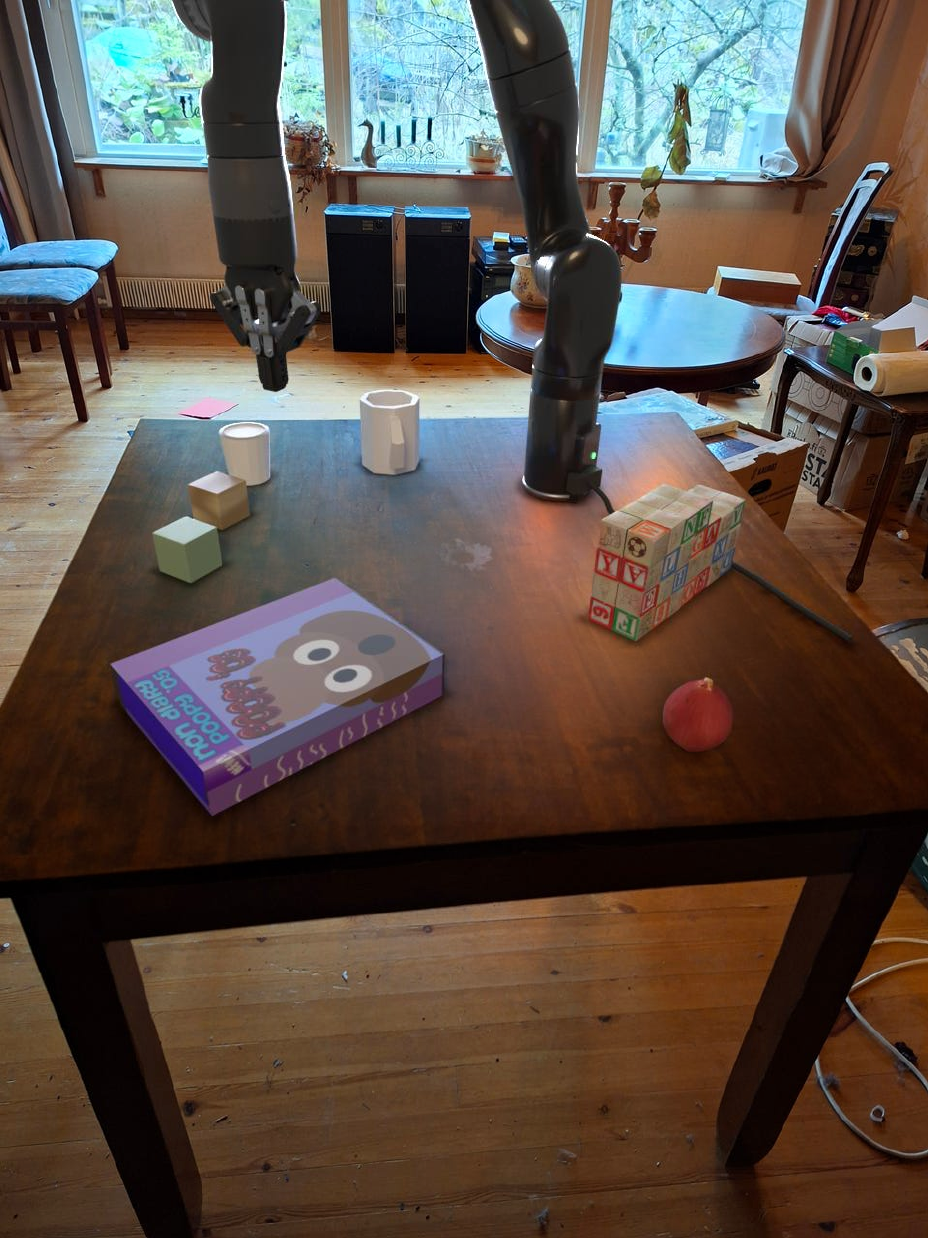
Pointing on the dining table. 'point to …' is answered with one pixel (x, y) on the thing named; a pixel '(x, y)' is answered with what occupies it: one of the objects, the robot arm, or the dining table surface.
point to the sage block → (187, 549)
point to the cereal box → (275, 689)
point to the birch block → (219, 500)
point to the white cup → (247, 451)
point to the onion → (698, 716)
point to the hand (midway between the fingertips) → (274, 388)
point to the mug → (389, 431)
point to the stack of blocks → (661, 555)
